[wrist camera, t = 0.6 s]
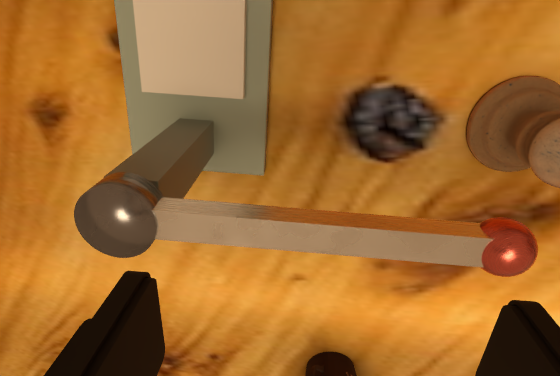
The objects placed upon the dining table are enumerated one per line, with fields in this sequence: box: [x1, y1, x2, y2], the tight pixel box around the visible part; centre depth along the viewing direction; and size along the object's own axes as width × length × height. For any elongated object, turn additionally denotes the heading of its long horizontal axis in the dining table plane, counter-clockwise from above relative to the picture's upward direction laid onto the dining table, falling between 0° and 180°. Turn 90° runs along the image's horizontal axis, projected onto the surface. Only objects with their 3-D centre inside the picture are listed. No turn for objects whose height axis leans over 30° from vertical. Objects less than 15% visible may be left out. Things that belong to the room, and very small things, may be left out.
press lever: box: [74, 172, 538, 277], centre depth 20 cm, size 25×4×3 cm, turn 87°
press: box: [104, 0, 273, 199], centre depth 26 cm, size 17×13×16 cm
